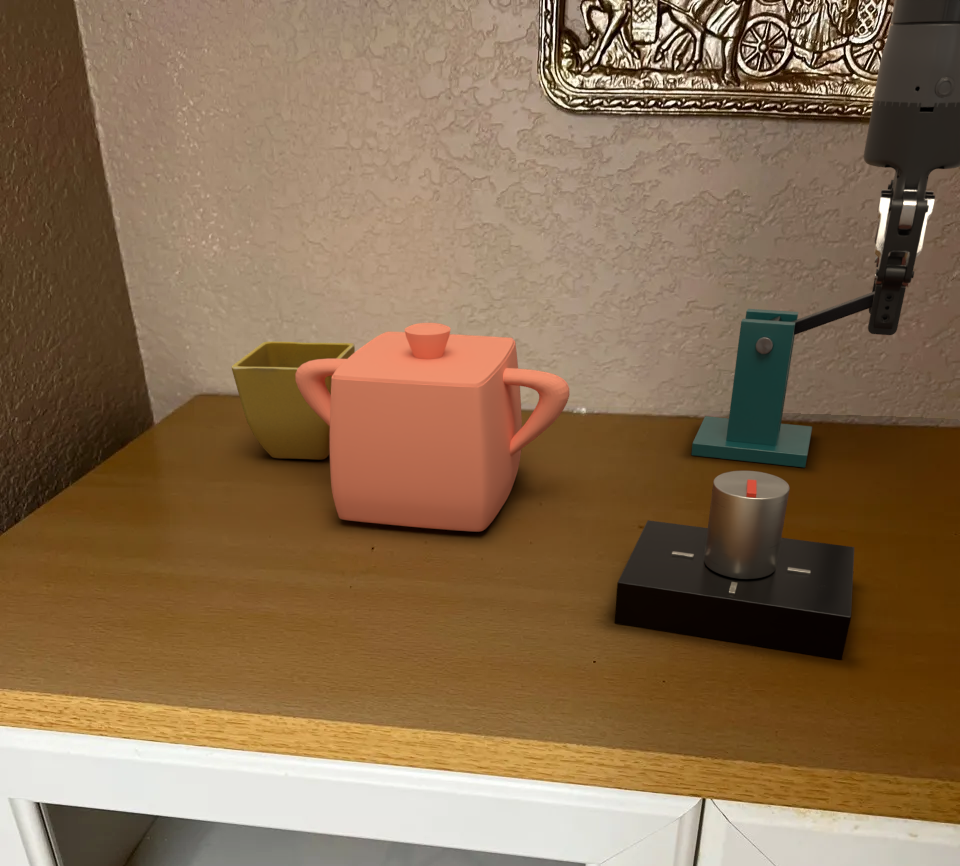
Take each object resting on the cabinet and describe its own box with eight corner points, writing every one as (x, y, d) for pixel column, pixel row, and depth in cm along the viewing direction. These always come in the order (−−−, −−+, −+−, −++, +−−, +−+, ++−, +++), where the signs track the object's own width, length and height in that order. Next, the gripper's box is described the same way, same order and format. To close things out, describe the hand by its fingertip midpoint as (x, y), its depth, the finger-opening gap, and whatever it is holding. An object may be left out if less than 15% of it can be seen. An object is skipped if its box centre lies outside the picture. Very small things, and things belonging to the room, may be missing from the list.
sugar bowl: (549, 548, 73) (556, 360, 66) (273, 522, 77) (250, 343, 70) (584, 455, 89) (593, 297, 82) (355, 438, 94) (344, 286, 86)
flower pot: (242, 466, 88) (228, 365, 83) (275, 433, 95) (264, 339, 90) (337, 471, 86) (328, 369, 82) (363, 437, 94) (356, 342, 89)
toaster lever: (899, 297, 83) (892, 269, 83) (901, 312, 79) (893, 283, 78) (759, 347, 89) (751, 322, 88) (752, 364, 84) (743, 338, 83)
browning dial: (705, 544, 66) (715, 463, 63) (775, 551, 65) (789, 469, 62) (702, 575, 62) (712, 490, 59) (776, 583, 61) (791, 496, 58)
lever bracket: (810, 438, 93) (832, 310, 87) (805, 468, 86) (828, 331, 80) (703, 427, 95) (717, 302, 89) (691, 455, 89) (705, 322, 83)
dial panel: (846, 586, 67) (854, 544, 66) (841, 659, 59) (851, 614, 58) (644, 557, 71) (647, 517, 70) (614, 623, 63) (617, 579, 62)
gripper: (874, 91, 80) (837, 303, 89) (873, 99, 69) (831, 341, 77) (974, 92, 78) (925, 308, 87) (990, 100, 67) (933, 349, 75)
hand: (881, 323), depth 82 cm, fingers closed on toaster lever, 6 cm apart
